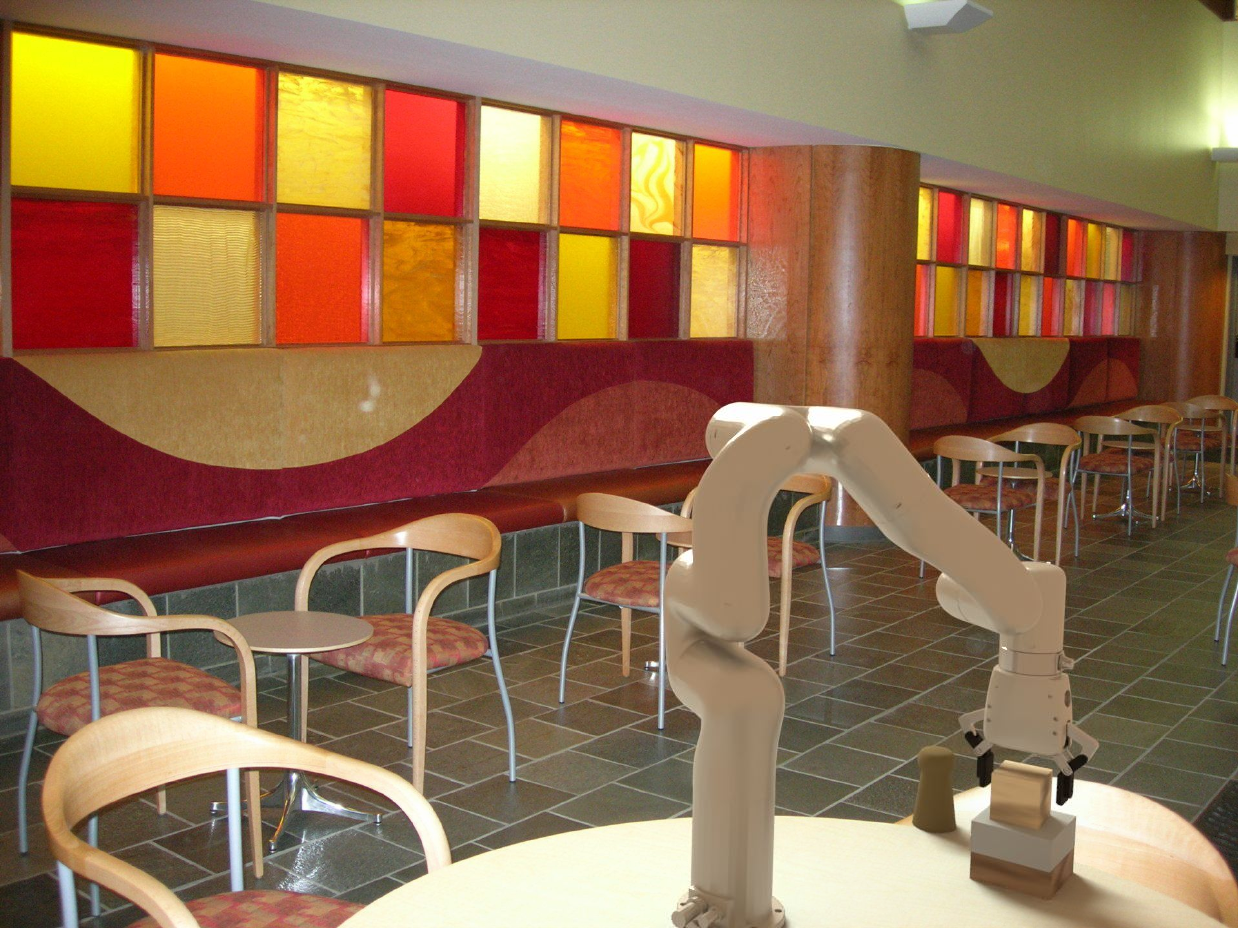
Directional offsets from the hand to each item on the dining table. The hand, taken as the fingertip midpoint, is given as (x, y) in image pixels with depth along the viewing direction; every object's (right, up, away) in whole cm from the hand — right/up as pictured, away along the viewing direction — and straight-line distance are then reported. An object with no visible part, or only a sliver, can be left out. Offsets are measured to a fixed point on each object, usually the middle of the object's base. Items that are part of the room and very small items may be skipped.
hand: (1023, 793), depth 151 cm
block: (0, -3, +1) cm, 3 cm away
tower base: (0, -11, +1) cm, 11 cm away
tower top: (0, -7, +1) cm, 7 cm away
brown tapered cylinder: (-7, -9, +17) cm, 21 cm away
